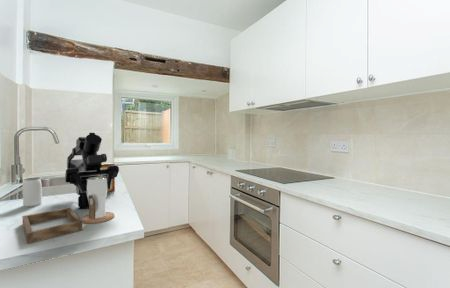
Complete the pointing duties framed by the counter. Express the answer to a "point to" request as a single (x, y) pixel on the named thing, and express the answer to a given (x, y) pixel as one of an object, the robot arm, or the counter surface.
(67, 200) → the counter surface
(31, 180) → the can
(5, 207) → the counter surface
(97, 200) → the silver metal cup
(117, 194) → the counter surface
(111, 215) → the terracotta saucer
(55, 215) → the wooden frame
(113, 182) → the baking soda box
